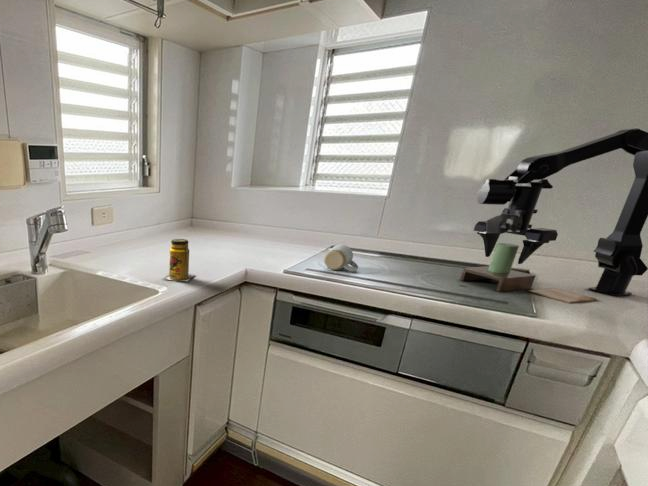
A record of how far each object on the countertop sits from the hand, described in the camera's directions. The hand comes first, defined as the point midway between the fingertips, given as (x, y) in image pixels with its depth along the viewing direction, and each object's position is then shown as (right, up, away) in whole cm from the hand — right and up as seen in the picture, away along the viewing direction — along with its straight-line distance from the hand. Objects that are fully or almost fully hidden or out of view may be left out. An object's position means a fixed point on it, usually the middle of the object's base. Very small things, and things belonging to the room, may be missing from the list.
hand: (502, 260), depth 118 cm
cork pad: (+10, -11, -7) cm, 16 cm away
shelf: (0, -7, +3) cm, 8 cm away
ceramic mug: (-39, 0, +20) cm, 43 cm away
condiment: (-95, -4, +9) cm, 95 cm away
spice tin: (0, -3, +1) cm, 4 cm away
